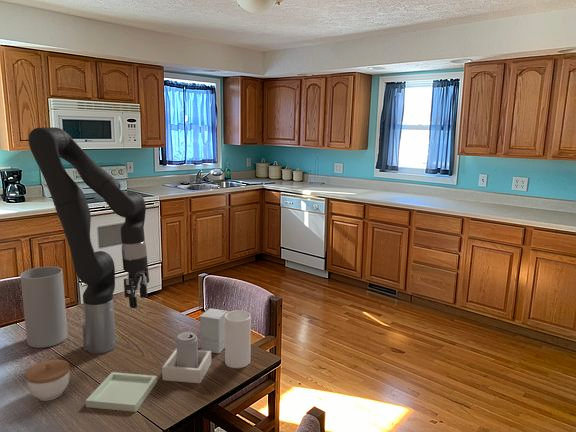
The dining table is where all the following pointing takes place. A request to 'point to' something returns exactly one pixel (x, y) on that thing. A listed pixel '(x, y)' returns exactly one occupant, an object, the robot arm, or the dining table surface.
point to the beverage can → (187, 350)
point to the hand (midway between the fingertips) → (138, 302)
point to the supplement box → (212, 330)
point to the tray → (122, 392)
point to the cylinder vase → (44, 306)
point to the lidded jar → (48, 379)
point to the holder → (183, 372)
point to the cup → (237, 338)
